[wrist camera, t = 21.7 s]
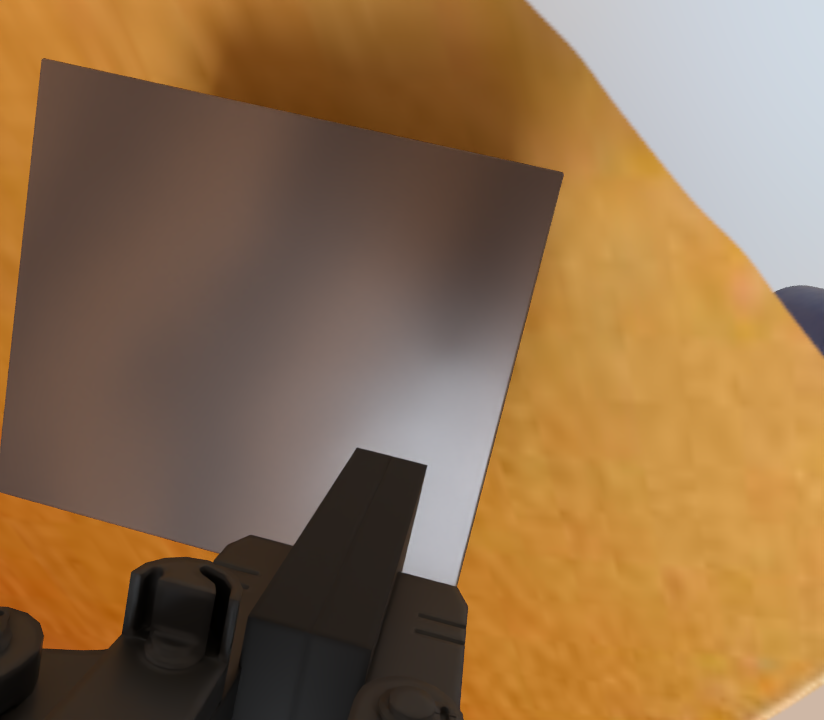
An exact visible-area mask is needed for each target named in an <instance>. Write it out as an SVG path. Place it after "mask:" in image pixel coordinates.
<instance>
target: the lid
mask: <svg viewBox="0 0 824 720" xmlns="http://www.w3.org/2000/svg"><path fill="white" fill-rule="evenodd" d="M563 176H564V174H563V173H562V172H559V171H555V170H550V169H545V168H541V167H536V166H532V165H527V164H523V163H518V162H514V161H509V160H505V159H500V158H495V157H491V156H486V155H482V154H477V153H473V152H468V151H464V150H459V149H454V148H450V147H445V146H441V145H436V144H432V143H427V142H423V141H418V140H414V139H409V138H404V137H400V136H395V135H391V134H386V133H382V132H377V131H373V130H368V129H364V128H359V127H354V126H350V125H345V124H341V123H336V122H332V121H327V120H323V119H318V118H313V117H309V116H304V115H300V114H295V113H291V112H286V111H282V110H277V109H273V108H268V107H263V106H259V105H254V104H250V103H245V102H241V101H236V100H232V99H227V98H222V97H218V96H213V95H209V94H204V93H200V92H195V91H191V90H186V89H182V88H177V87H172V86H168V85H163V84H159V83H154V82H150V81H145V80H141V79H136V78H132V77H127V76H122V75H118V74H113V73H109V72H104V71H100V70H95V69H91V68H86V67H81V66H77V65H72V64H68V63H63V62H59V61H54V60H50V59H45V58H44V59H42V62H41V72H40V81H39V90H38V100H37V109H36V118H35V128H34V137H33V146H32V156H31V165H30V175H29V184H28V193H27V203H26V212H25V221H24V231H23V240H22V249H21V259H20V268H19V278H18V287H17V296H16V306H15V315H14V324H13V334H12V343H11V352H10V362H9V371H8V381H7V390H6V399H5V409H4V418H3V427H2V437H1V446H0V492H1V493H5V494H8V495H12V496H15V497H19V498H22V499H26V500H30V501H33V502H37V503H40V504H44V505H47V506H51V507H55V508H58V509H62V510H65V511H69V512H72V513H76V514H80V515H83V516H87V517H90V518H94V519H97V520H101V521H105V522H108V523H112V524H115V525H119V526H122V527H126V528H129V529H133V530H137V531H140V532H144V533H147V534H151V535H154V536H158V537H162V538H165V539H169V540H172V541H176V542H179V543H183V544H187V545H190V546H194V547H197V548H201V549H204V550H208V551H212V552H215V553H219V554H220V553H221V552H222V550H223V549H224V548H225V547H226V546H227V545H228V544H230V543H232V542H235V541H237V540H239V539H241V538H244V537H246V536H248V535H255V536H258V537H262V538H266V539H270V540H274V541H277V542H281V543H285V544H289V545H292V546H294V544H295V543H296V541H297V539H298V538H299V536H300V535H301V533H302V532H303V530H304V529H305V527H306V525H307V524H308V522H309V521H310V519H311V518H312V516H313V515H314V513H315V512H316V510H317V508H318V507H319V505H320V504H321V502H322V501H323V499H324V498H325V496H326V494H327V493H328V491H329V490H330V488H331V487H332V485H333V484H334V482H335V481H336V479H337V477H338V476H339V474H340V473H341V471H342V470H343V468H344V467H345V465H346V463H347V462H348V460H349V459H350V457H351V456H352V454H353V453H354V451H355V450H356V448H357V447H358V448H362V449H366V450H370V451H374V452H378V453H381V454H385V455H389V456H393V457H397V458H401V459H405V460H409V461H413V462H417V463H421V464H425V465H427V469H426V474H425V478H424V482H423V486H422V490H421V495H420V499H419V503H418V507H417V511H416V516H415V520H414V524H413V528H412V532H411V537H410V541H409V545H408V549H407V553H406V558H405V562H404V566H403V570H402V572H403V573H407V574H411V575H414V576H418V577H422V578H426V579H430V580H433V581H437V582H441V583H445V584H448V585H452V586H456V587H457V584H458V580H459V576H460V572H461V569H462V565H463V561H464V557H465V553H466V549H467V546H468V542H469V538H470V534H471V530H472V526H473V522H474V519H475V515H476V511H477V507H478V503H479V499H480V495H481V492H482V488H483V484H484V480H485V476H486V472H487V468H488V465H489V461H490V457H491V453H492V449H493V445H494V442H495V438H496V434H497V430H498V426H499V422H500V418H501V415H502V411H503V407H504V403H505V399H506V395H507V391H508V388H509V384H510V380H511V376H512V372H513V368H514V364H515V361H516V357H517V353H518V349H519V345H520V341H521V338H522V334H523V330H524V326H525V322H526V318H527V314H528V311H529V307H530V303H531V299H532V295H533V291H534V287H535V284H536V280H537V276H538V272H539V268H540V264H541V260H542V257H543V253H544V249H545V245H546V241H547V237H548V234H549V230H550V226H551V222H552V218H553V214H554V210H555V207H556V203H557V199H558V195H559V191H560V187H561V183H562V180H563Z"/></svg>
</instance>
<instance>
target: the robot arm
mask: <svg viewBox="0 0 824 720" xmlns="http://www.w3.org/2000/svg"><path fill="white" fill-rule="evenodd" d="M426 469H427V465H425V464H421V463H417V462H413V461H409V460H405V459H401V458H397V457H393V456H389V455H385V454H381V453H378V452H374V451H370V450H366V449H362V448H358V447H357V448H356V450H355V451H354V453H353V454H352V456H351V457H350V459H349V460H348V462H347V463H346V465H345V467H344V468H343V470H342V471H341V473H340V474H339V476H338V477H337V479H336V481H335V482H334V484H333V485H332V487H331V488H330V490H329V491H328V493H327V494H326V496H325V498H324V499H323V501H322V502H321V504H320V505H319V507H318V508H317V510H316V512H315V513H314V515H313V516H312V518H311V519H310V521H309V522H308V524H307V525H306V527H305V529H304V530H303V532H302V533H301V535H300V536H299V538H298V539H297V541H296V543H295V544H294V546H292V545H289V544H285V543H281V542H277V541H274V540H270V539H266V538H262V537H258V536H255V535H248V536H246V537H244V538H241V539H239V540H237V541H235V542H232V543H230V544H228V545H227V546H226V547H225V548H224V549H223V550H222V552H221V553H220V554H219V555H218V556H217V557H216V559H215V560H214V562H210V561H208V560H202V559H196V558H190V557H175V558H163V559H159V560H155V561H151V562H147V563H145V564H143V565H142V566H140V567H138V568H137V569H135V570H133V571H132V572H131V578H130V584H129V591H128V597H127V604H126V610H125V617H124V624H123V630H122V634H121V636H120V637H119V638H118V639H117V640H116V641H115V642H114V643H113V644H112V645H111V646H110V648H109V649H104V650H62V649H42V646H43V638H44V635H43V632H42V628H41V625H40V623H39V622H38V621H37V620H35V619H34V618H33V617H32V616H30V615H29V614H28V613H25V612H22V611H19V610H16V609H13V608H9V607H0V720H463V714H462V712H461V711H460V699H461V686H462V674H463V662H464V649H465V646H464V645H465V637H466V625H467V613H468V606H467V604H466V602H465V600H464V598H463V597H462V595H461V593H460V591H459V590H458V588H457V587H456V586H452V585H448V584H445V583H441V582H437V581H433V580H430V579H426V578H422V577H418V576H414V575H411V574H407V573H403V572H402V570H403V566H404V562H405V558H406V553H407V549H408V545H409V541H410V537H411V532H412V528H413V524H414V520H415V516H416V511H417V507H418V503H419V499H420V495H421V490H422V486H423V482H424V478H425V474H426Z"/></svg>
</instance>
